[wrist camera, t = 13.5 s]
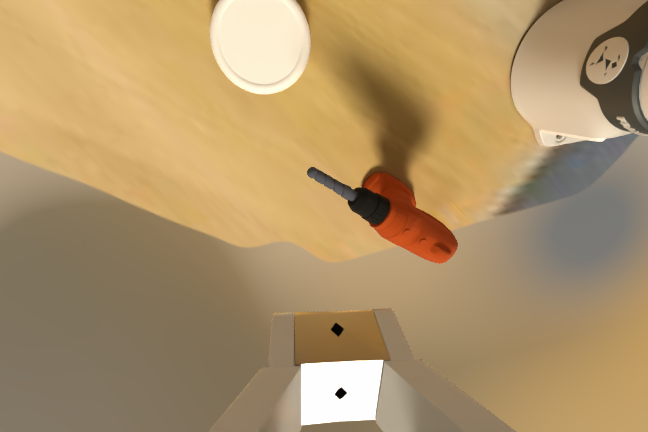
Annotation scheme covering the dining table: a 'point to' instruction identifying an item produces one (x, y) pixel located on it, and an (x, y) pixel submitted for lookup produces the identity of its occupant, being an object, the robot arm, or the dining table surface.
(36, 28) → the dining table surface
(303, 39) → the cream round disc
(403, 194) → the toy drill
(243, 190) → the dining table surface
